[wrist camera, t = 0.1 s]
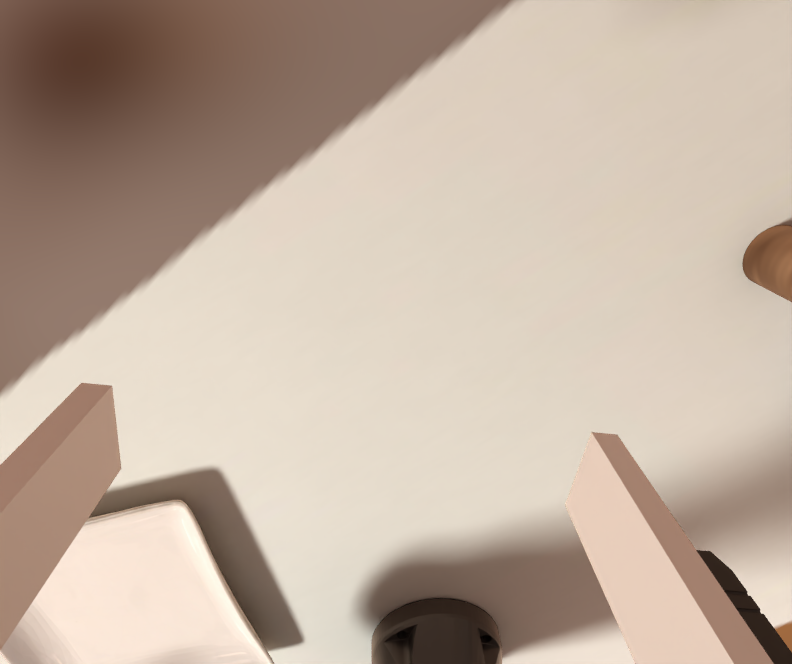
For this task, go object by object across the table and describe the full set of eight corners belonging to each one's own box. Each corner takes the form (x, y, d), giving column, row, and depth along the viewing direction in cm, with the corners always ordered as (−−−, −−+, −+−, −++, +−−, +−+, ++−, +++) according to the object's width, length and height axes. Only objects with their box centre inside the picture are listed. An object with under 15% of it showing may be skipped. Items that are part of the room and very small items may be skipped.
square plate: (195, 473, 50) (182, 502, 47) (285, 647, 62) (280, 680, 58) (-62, 528, 52) (-94, 560, 48) (73, 687, 64) (56, 722, 60)
